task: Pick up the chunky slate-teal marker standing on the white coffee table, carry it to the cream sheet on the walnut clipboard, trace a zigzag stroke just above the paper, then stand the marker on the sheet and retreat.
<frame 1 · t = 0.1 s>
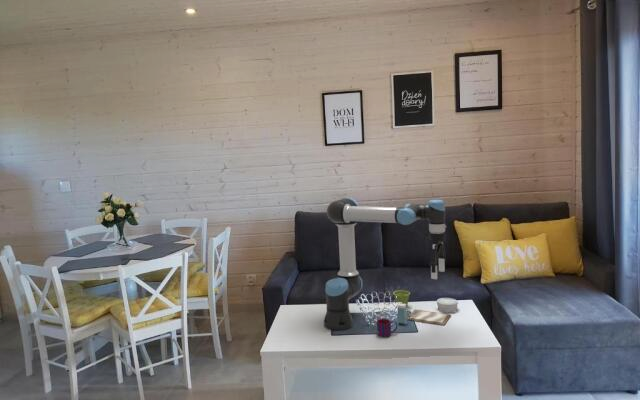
hand: (438, 275, 215), 28 cm above the table, fingers open, 13 cm apart
ramekin: (447, 310, 244), on the table
mug: (387, 335, 216), on the table
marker: (402, 323, 228), on the table
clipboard: (428, 317, 234), on the table
plant pot: (402, 308, 251), on the table
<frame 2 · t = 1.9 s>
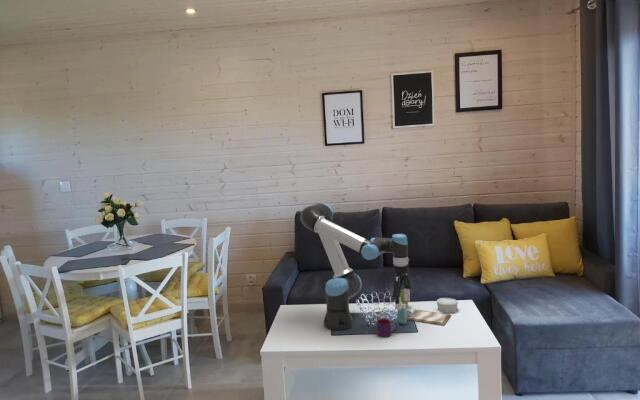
hand: (402, 305, 227), 10 cm above the table, fingers open, 13 cm apart
nothing on the table moved.
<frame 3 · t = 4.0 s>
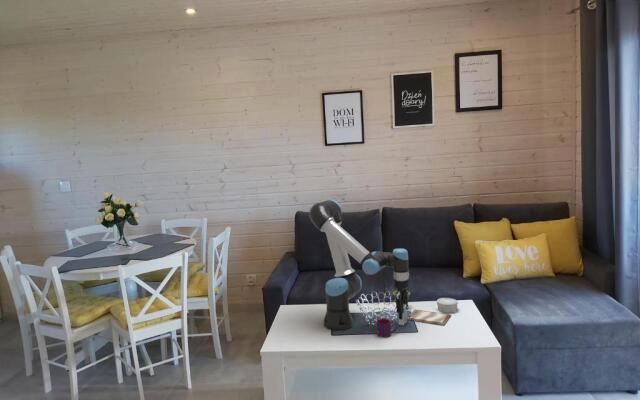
hand: (402, 323, 228), 0 cm above the table, fingers closed on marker, 3 cm apart
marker: (402, 323, 228), on the table, touching gripper
everything else where it was.
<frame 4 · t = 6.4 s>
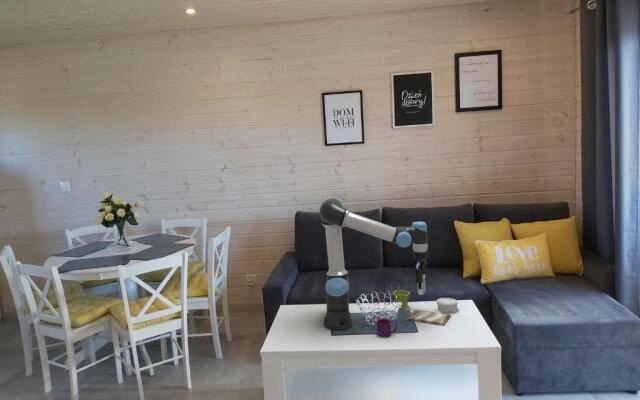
hand: (421, 293, 239), 12 cm above the table, fingers closed on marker, 3 cm apart
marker: (421, 293, 239), point 11 cm above the table, touching gripper
everything else where it was.
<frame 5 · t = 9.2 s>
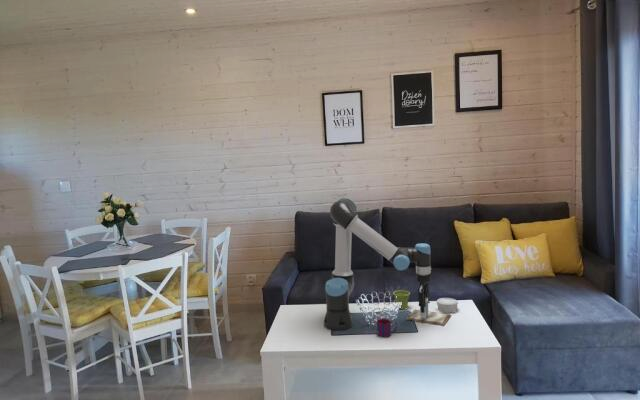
hand: (424, 316, 233), 1 cm above the table, fingers closed on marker, 3 cm apart
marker: (424, 317, 233), point 1 cm above the table, touching gripper
everything else where it was.
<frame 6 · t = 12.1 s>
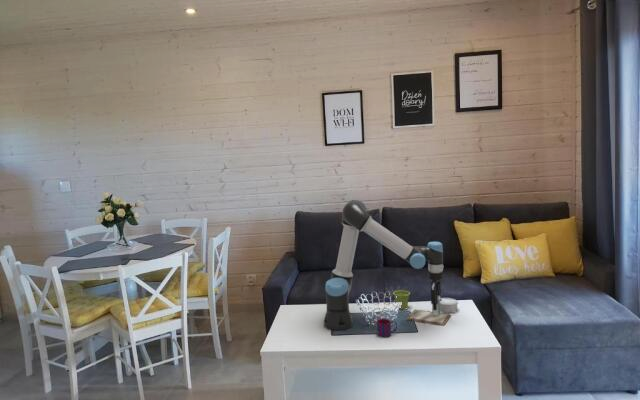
hand: (436, 314, 236), 1 cm above the table, fingers closed on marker, 3 cm apart
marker: (436, 314, 236), point 1 cm above the table, touching gripper
everything else where it was.
when the fingers open (1 cm above the table, at t = 14.3 s): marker stays where it is, resting on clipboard.
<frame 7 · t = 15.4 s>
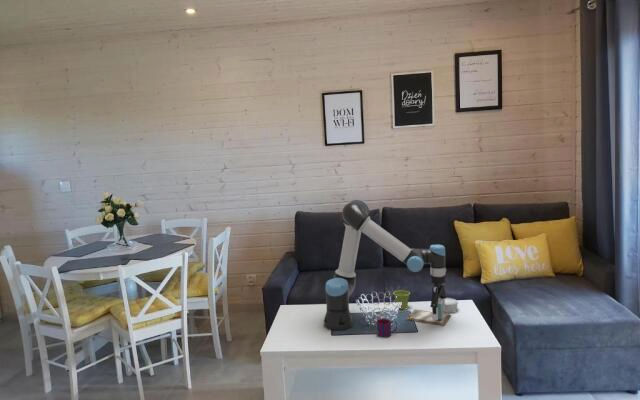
hand: (438, 315, 229), 3 cm above the table, fingers open, 13 cm apart
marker: (438, 319, 229), point 1 cm above the table, touching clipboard
everything else where it was.
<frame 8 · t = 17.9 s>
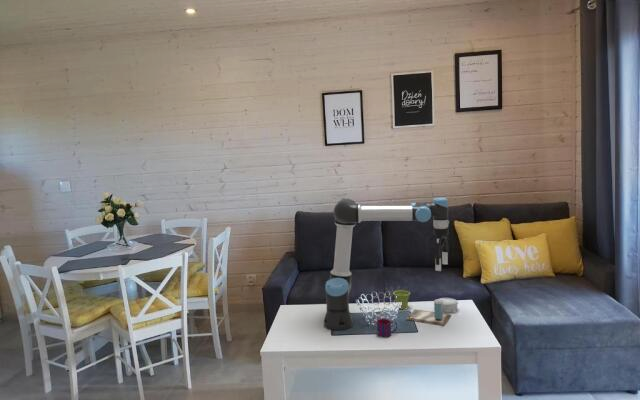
hand: (441, 267, 233), 27 cm above the table, fingers open, 13 cm apart
nothing on the table moved.
at the end: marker inside the target area on the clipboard (6.4 cm from its centre), point 0.9 cm above the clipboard's base; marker moved 19.1 cm from its start; the gripper is holding nothing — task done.
